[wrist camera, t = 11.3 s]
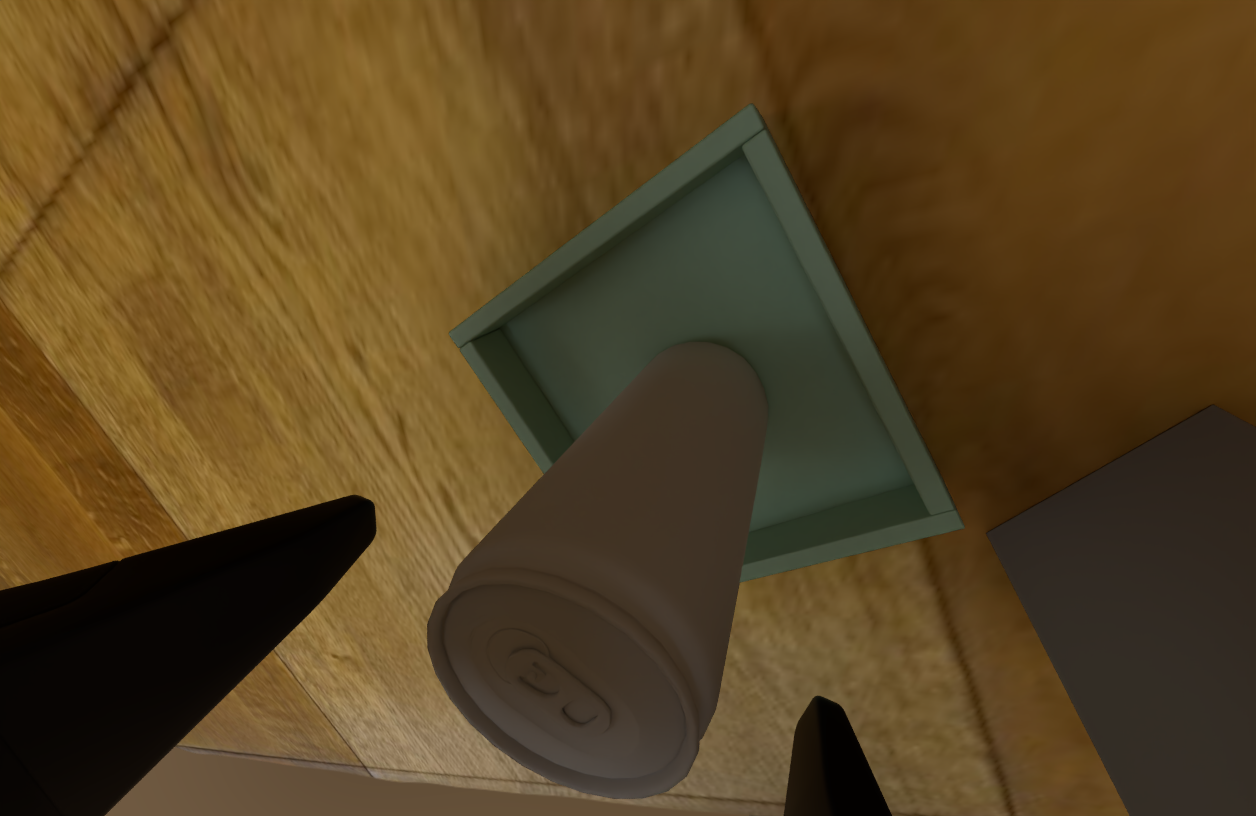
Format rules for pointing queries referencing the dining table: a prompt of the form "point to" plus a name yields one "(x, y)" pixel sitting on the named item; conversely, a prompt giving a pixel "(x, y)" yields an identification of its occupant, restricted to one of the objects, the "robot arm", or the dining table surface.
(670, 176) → the tray
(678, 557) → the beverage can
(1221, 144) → the dining table surface
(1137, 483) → the perfume bottle
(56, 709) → the robot arm
